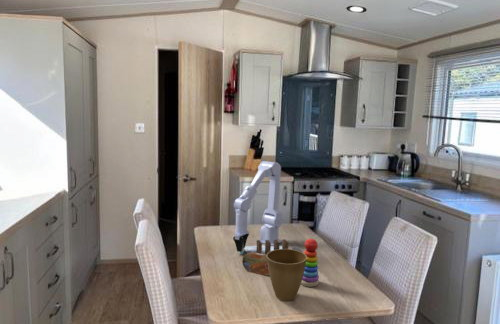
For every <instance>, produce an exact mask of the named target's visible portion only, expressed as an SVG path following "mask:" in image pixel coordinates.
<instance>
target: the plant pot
mask: <svg viewBox="0 0 500 324" xmlns="http://www.w3.org/2000/svg"><path fill="white" fill-rule="evenodd" d="M266 256H267V264H268V270H269V275H268V276H269V278H270V279H269V280H270V282H271V286H272V289H273V292H274V295H275V297H276V299H278V300H280V301H284V302H288V301H289V302H290V301H293V300H295V298H297V294H298V293H299V290H300V287H301V285H302V284H301V282H302V278H303V275H304V270H305V266H306V260H307V256H306V255H305V254H304V252H303V251H302V252H300V251H297V250H292V248H288V249H282V248H279V249H277V250H274V249H273V250H271V251H270V252H268V253H267V255H266Z"/></svg>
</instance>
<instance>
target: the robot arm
mask: <svg viewBox="0 0 500 324" xmlns="http://www.w3.org/2000/svg"><path fill="white" fill-rule="evenodd" d="M257 167H258V168H257V172H256V173H255V175H254V178H253V180H252V182H251V184H248V185H246V187H245V188H244V189H243V191H242V193H241V194H240V196H239V197H238V198H236V199H234V202H233V204H232V205H233V208H234V212H235V231H234V233H235V235H234V236H233V237H232V240H233V241H234V244H235V247H236V248H235V249H236V252H238V253H239V252H241V251H242V247H243V249H244V248H246V244H247V240H248V237H249V235H250V232H251V231H249V230H248V222H249V221H248V219H249V218H248V216H249V215H248V214H249V213H248V212H249V210H250V208H251V206H252V205H251V204H252V200H253V199H254V197H255V196H256V195H257V192H258V190H257V188H258V187H259V186H260V184H261V183H262V182H263V180H264V179H265V178H269V188H268V201H267V208H265V210H264V211H263V215H262V217H261V218H262V219H261V220H262V223H263V225H261V227H260V231H259V233H260V236H259V240H260V241H261V243H262V244H265V240H269V241H270V243H271V246H273V247H274V240H278V242H279V243H281V244H282V240H279V231H280V229H279V228H280V227H281V226H282V224H283V217H282V215H283V213H282V212H281V210H280V209H279V199H280V187H281V174H282V173H281V171H282V166H281V165H280V163H279V162H277V161H275V162H274V161H267V160H262V161H261V162H260V163H259V165H258V166H257ZM243 242H244V246H243Z"/></svg>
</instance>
